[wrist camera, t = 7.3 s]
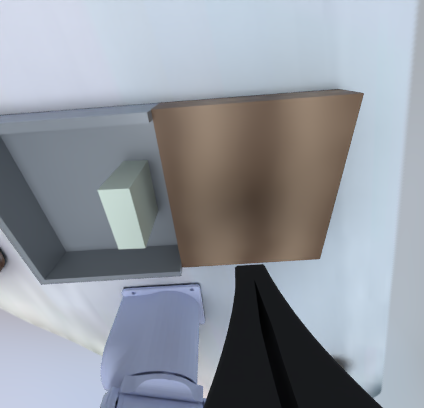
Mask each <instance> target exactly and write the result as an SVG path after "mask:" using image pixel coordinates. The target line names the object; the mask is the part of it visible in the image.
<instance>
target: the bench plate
mask: <svg viewBox="0 0 424 408" xmlns="http://www.w3.org/2000/svg"><path fill="white" fill-rule="evenodd" d="M363 95H364V93H360V92H353V91H347V90H341V89H334V90H321V91H308V92H295V93H282V94H269V95H256V96H243V97H230V98H217V99H204V100H191V101H178V102H165V103H159V104H157V105H156V106H155V107H153V108H152V109H151V114H152V119H153V124H154V129H155V134H156V139H157V144H158V149H159V154H160V159H161V164H162V169H163V174H164V179H165V184H166V189H167V194H168V199H169V204H170V209H171V214H172V219H173V224H174V229H175V234H176V239H177V244H178V249H179V254H180V259H181V264H182V267H199V266H215V265H231V264H247V263H263V262H279V261H295V260H311V259H320V256H321V253H322V249H323V245H324V241H325V238H326V234H327V230H328V226H329V223H330V219H331V215H332V211H333V208H334V204H335V200H336V196H337V193H338V189H339V185H340V181H341V178H342V174H343V170H344V166H345V162H346V159H347V155H348V151H349V147H350V144H351V140H352V136H353V132H354V129H355V125H356V121H357V117H358V114H359V110H360V106H361V102H362V99H363Z"/></svg>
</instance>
